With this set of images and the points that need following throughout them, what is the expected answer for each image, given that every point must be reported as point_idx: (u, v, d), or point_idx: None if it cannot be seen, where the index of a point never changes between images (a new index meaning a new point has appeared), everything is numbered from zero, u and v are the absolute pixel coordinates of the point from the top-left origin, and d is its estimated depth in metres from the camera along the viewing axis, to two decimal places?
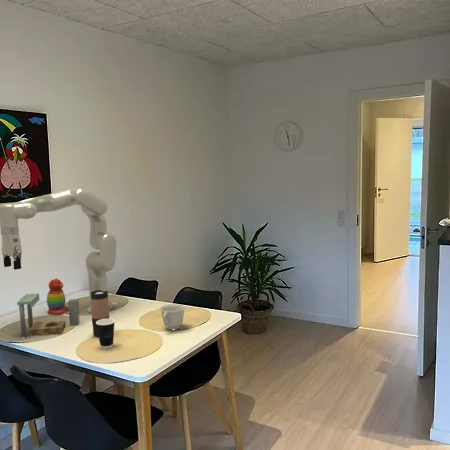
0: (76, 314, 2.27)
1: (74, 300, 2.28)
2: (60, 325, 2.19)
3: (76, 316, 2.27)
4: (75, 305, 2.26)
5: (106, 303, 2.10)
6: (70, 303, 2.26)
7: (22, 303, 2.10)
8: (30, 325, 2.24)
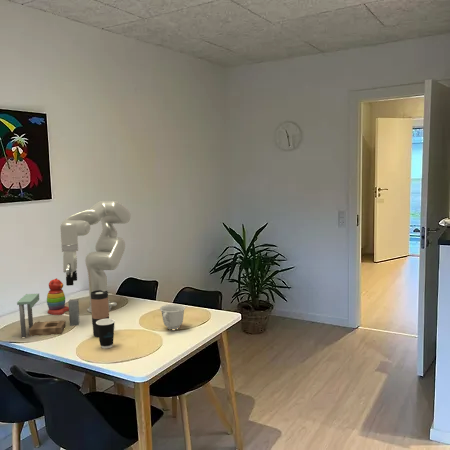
0: (76, 314, 2.27)
1: (74, 300, 2.28)
2: (60, 325, 2.19)
3: (76, 316, 2.27)
4: (75, 305, 2.26)
5: (106, 303, 2.10)
6: (70, 303, 2.26)
7: (22, 303, 2.10)
8: (30, 325, 2.24)
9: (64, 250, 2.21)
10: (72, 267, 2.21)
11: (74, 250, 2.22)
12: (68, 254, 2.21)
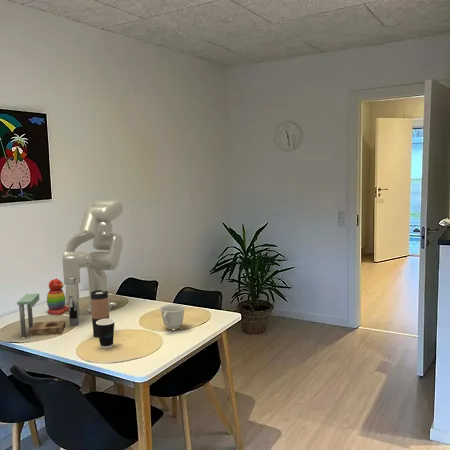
0: None
1: None
2: (60, 325, 2.19)
3: None
4: None
5: (106, 303, 2.10)
6: None
7: (22, 303, 2.10)
8: (30, 325, 2.24)
9: (66, 283, 2.23)
10: (74, 300, 2.23)
11: (76, 283, 2.24)
12: (71, 287, 2.23)
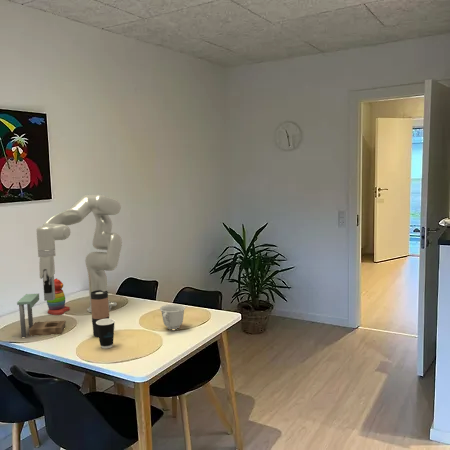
0: None
1: None
2: (60, 325, 2.19)
3: None
4: (50, 279, 2.15)
5: (106, 303, 2.10)
6: None
7: (22, 303, 2.10)
8: (30, 325, 2.24)
9: (40, 255, 2.13)
10: (49, 273, 2.12)
11: (51, 255, 2.14)
12: (45, 259, 2.12)
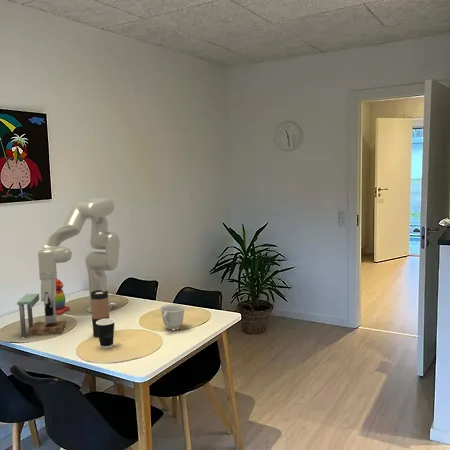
0: None
1: None
2: (60, 325, 2.19)
3: None
4: None
5: (106, 303, 2.10)
6: None
7: (22, 303, 2.10)
8: (30, 325, 2.24)
9: (42, 278, 2.14)
10: (50, 296, 2.13)
11: (52, 278, 2.15)
12: (46, 282, 2.13)
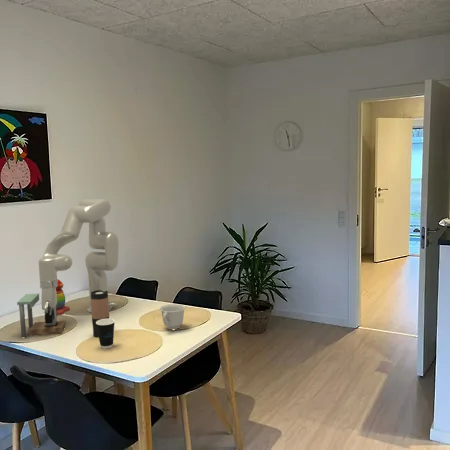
0: (53, 320, 2.18)
1: None
2: (60, 325, 2.19)
3: (53, 322, 2.18)
4: (52, 311, 2.17)
5: (106, 303, 2.10)
6: None
7: (22, 303, 2.10)
8: (30, 325, 2.24)
9: (42, 287, 2.14)
10: (51, 304, 2.14)
11: (53, 286, 2.15)
12: (47, 291, 2.13)
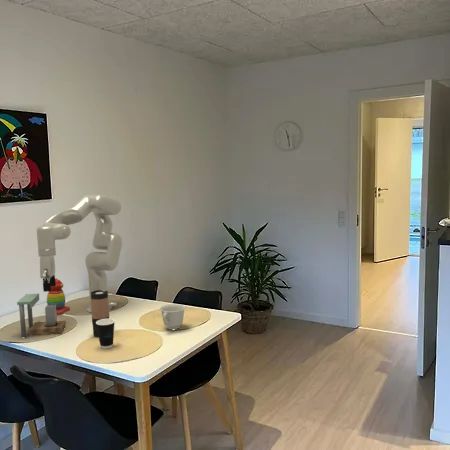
0: (53, 320, 2.18)
1: (51, 306, 2.19)
2: (60, 325, 2.19)
3: (53, 322, 2.18)
4: (52, 311, 2.17)
5: (106, 303, 2.10)
6: (47, 309, 2.17)
7: (22, 303, 2.10)
8: (30, 325, 2.24)
9: (41, 255, 2.13)
10: (49, 272, 2.13)
11: (51, 255, 2.14)
12: (45, 259, 2.12)
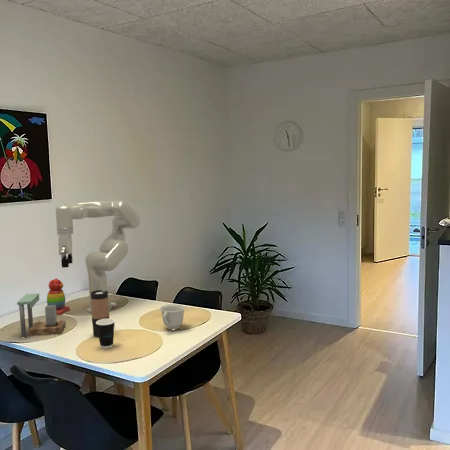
0: (53, 320, 2.18)
1: (51, 306, 2.19)
2: (60, 325, 2.19)
3: (53, 322, 2.18)
4: (52, 311, 2.17)
5: (106, 303, 2.10)
6: (47, 309, 2.17)
7: (22, 303, 2.10)
8: (30, 325, 2.24)
9: (59, 233, 2.26)
10: (67, 249, 2.26)
11: (69, 233, 2.27)
12: (63, 237, 2.25)
